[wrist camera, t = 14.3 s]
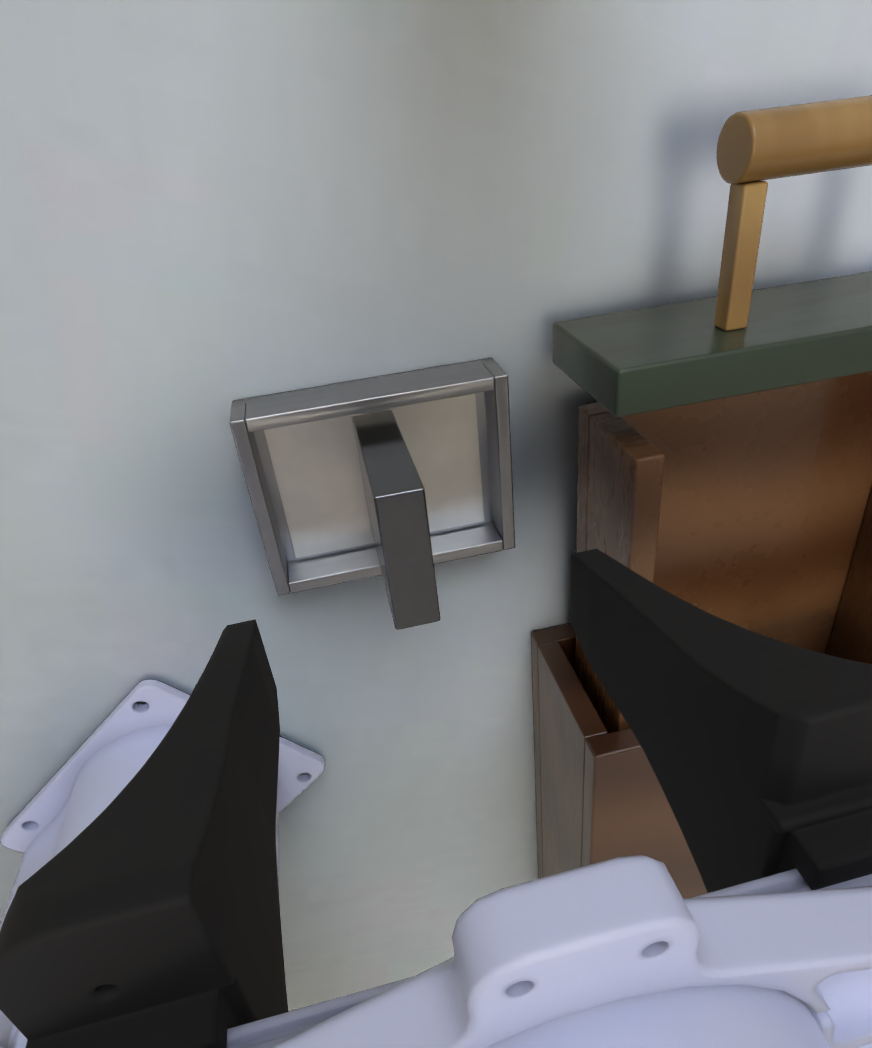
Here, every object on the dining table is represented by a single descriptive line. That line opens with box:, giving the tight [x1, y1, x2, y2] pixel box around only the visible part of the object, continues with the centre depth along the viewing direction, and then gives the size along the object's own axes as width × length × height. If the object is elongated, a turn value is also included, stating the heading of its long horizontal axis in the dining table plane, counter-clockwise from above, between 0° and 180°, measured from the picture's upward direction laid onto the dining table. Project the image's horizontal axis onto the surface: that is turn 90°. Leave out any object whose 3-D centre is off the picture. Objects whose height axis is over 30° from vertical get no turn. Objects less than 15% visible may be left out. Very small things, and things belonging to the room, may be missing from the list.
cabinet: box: [531, 623, 708, 899], centre depth 29 cm, size 17×14×6 cm
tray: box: [230, 358, 515, 630], centre depth 19 cm, size 6×8×5 cm
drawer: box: [553, 95, 872, 733], centre depth 21 cm, size 20×12×4 cm, turn 6°
